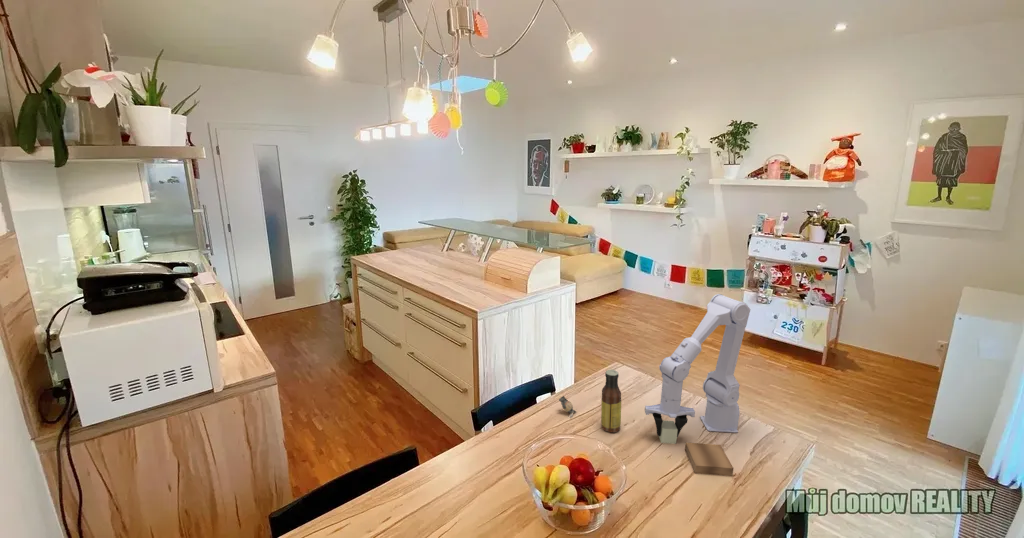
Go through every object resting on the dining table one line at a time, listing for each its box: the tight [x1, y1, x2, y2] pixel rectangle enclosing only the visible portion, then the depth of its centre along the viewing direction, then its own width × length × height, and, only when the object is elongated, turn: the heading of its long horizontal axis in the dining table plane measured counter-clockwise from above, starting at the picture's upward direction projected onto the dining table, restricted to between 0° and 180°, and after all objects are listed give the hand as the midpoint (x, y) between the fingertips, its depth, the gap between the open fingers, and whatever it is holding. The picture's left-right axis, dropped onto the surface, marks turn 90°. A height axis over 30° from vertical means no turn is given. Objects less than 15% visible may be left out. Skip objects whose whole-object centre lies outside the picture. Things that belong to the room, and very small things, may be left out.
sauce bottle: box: [600, 369, 622, 434], centre depth 137 cm, size 7×6×20 cm
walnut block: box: [684, 441, 734, 477], centre depth 124 cm, size 10×10×3 cm
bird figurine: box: [558, 396, 577, 420], centre depth 147 cm, size 5×5×6 cm
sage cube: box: [658, 419, 678, 445], centre depth 134 cm, size 4×4×5 cm
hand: (667, 434), depth 134 cm, fingers open, 5 cm apart
